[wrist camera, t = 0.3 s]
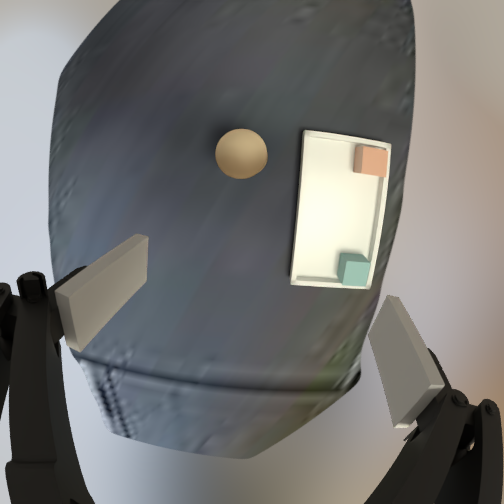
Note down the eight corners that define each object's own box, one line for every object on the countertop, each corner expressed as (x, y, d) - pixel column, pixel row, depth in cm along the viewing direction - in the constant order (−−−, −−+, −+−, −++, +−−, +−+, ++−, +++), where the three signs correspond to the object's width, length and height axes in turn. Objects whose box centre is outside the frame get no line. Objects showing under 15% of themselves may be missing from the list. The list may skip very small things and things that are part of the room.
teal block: (340, 252, 39) (346, 261, 35) (362, 254, 38) (370, 262, 35) (336, 275, 40) (342, 285, 36) (358, 276, 40) (365, 286, 36)
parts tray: (302, 132, 35) (304, 129, 32) (384, 144, 34) (391, 144, 32) (289, 277, 41) (290, 284, 39) (364, 282, 41) (369, 289, 38)
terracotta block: (355, 147, 34) (363, 146, 31) (378, 151, 34) (388, 150, 30) (353, 172, 35) (361, 173, 32) (376, 175, 35) (386, 177, 32)
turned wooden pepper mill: (231, 137, 36) (216, 128, 25) (268, 139, 35) (268, 130, 25) (229, 173, 37) (214, 177, 27) (266, 175, 37) (265, 180, 27)
